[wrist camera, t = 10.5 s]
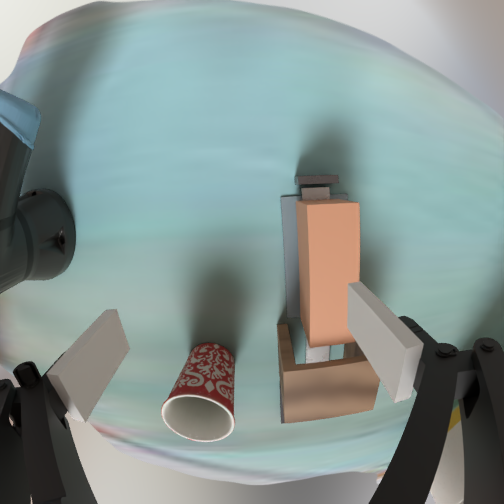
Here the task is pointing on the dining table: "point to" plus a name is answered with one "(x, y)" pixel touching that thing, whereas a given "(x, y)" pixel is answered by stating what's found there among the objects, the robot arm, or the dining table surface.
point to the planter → (451, 464)
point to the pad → (293, 251)
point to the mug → (203, 395)
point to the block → (327, 267)
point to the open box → (324, 383)
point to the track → (316, 194)
